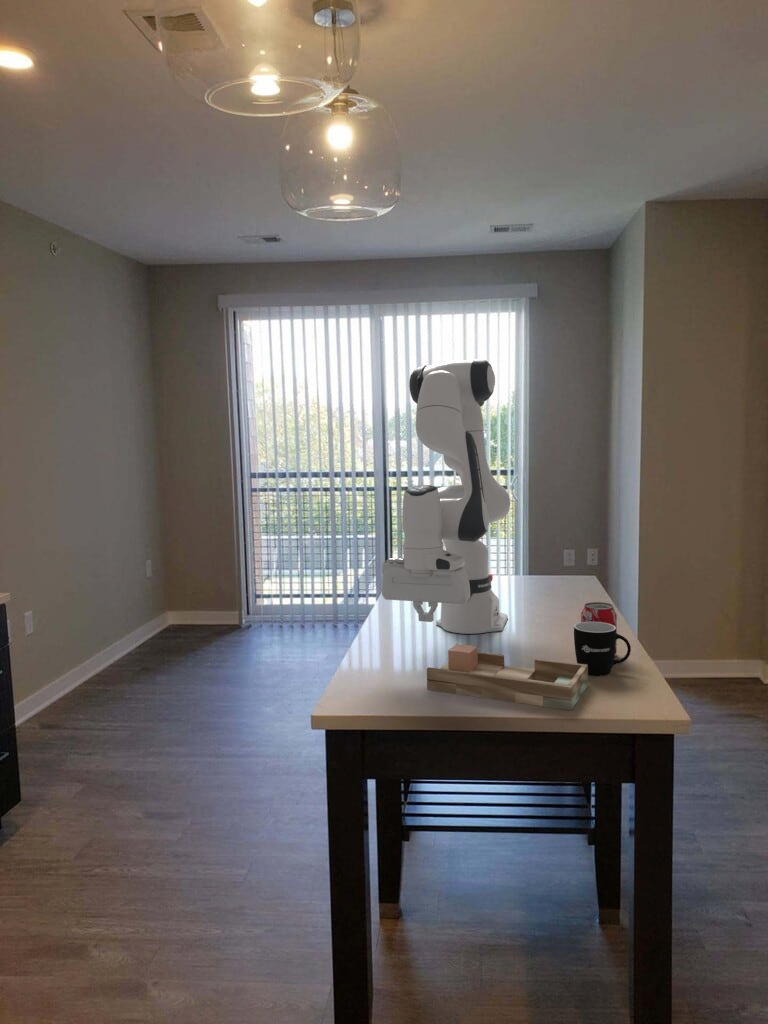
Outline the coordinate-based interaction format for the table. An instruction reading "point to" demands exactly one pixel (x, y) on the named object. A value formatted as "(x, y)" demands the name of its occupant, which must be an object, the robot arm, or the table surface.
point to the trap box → (514, 681)
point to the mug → (597, 646)
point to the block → (463, 657)
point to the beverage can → (600, 614)
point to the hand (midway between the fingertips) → (426, 621)
